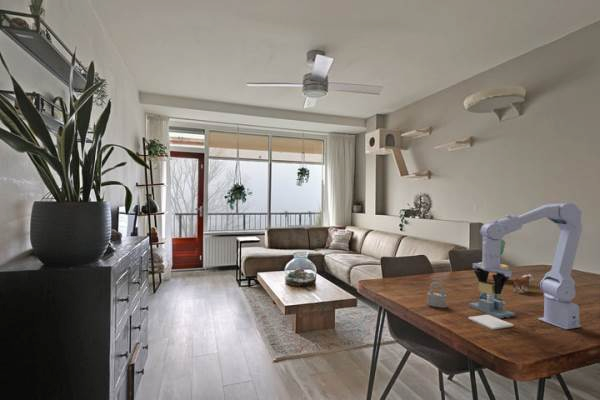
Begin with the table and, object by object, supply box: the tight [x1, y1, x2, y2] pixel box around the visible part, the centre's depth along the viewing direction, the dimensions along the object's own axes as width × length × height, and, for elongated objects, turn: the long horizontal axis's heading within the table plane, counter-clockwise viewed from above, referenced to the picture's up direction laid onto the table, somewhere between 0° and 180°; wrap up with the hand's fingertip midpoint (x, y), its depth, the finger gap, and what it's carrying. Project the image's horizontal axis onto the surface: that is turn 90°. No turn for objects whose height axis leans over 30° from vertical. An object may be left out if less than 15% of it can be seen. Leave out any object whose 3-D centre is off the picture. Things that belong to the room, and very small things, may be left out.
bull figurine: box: [512, 273, 535, 294], centre depth 153 cm, size 4×13×8 cm, turn 112°
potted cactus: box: [478, 238, 510, 281], centre depth 177 cm, size 15×15×25 cm
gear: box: [478, 292, 499, 300], centre depth 139 cm, size 11×6×10 cm
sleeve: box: [478, 280, 504, 296], centre depth 115 cm, size 6×6×4 cm
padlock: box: [426, 281, 447, 309], centre depth 128 cm, size 7×4×10 cm, turn 64°
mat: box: [468, 314, 514, 331], centre depth 111 cm, size 10×10×1 cm
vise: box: [468, 294, 516, 319], centre depth 124 cm, size 14×12×8 cm
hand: (490, 291), depth 115 cm, fingers closed on sleeve, 5 cm apart
